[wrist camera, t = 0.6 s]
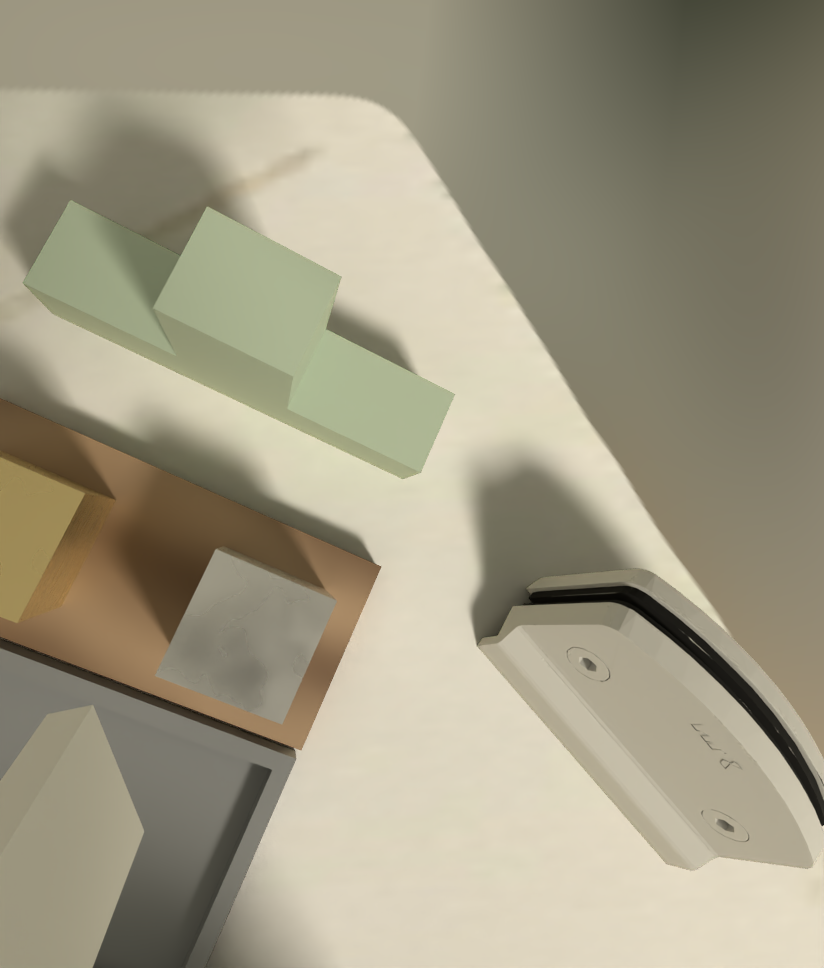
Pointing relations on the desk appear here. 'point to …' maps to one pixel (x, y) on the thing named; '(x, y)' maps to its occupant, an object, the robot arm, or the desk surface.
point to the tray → (160, 803)
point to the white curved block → (667, 718)
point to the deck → (171, 573)
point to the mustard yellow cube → (43, 536)
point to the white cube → (247, 635)
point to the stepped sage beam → (240, 330)
